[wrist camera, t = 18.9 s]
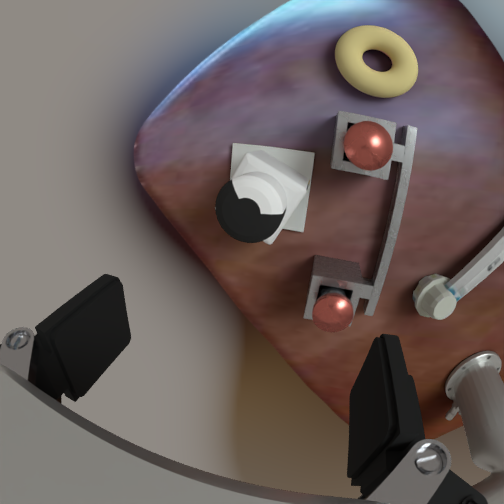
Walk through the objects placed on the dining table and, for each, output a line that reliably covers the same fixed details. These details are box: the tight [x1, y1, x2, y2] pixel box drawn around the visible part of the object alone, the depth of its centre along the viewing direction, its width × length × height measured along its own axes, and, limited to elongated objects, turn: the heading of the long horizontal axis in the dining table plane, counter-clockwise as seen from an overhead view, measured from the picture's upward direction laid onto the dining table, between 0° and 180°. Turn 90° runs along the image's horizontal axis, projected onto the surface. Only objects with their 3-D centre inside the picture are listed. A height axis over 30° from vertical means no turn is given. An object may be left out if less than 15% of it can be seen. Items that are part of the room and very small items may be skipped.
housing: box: [304, 111, 417, 326], centre depth 32 cm, size 25×10×6 cm, turn 175°
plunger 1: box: [312, 285, 354, 332], centre depth 34 cm, size 5×5×8 cm
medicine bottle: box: [215, 150, 310, 245], centre depth 30 cm, size 7×7×12 cm
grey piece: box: [413, 227, 504, 320], centre depth 30 cm, size 5×7×25 cm
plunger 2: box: [343, 121, 393, 171], centre depth 27 cm, size 5×5×8 cm
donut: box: [335, 25, 418, 98], centre depth 26 cm, size 10×5×9 cm
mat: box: [230, 143, 315, 232], centre depth 36 cm, size 10×10×1 cm
